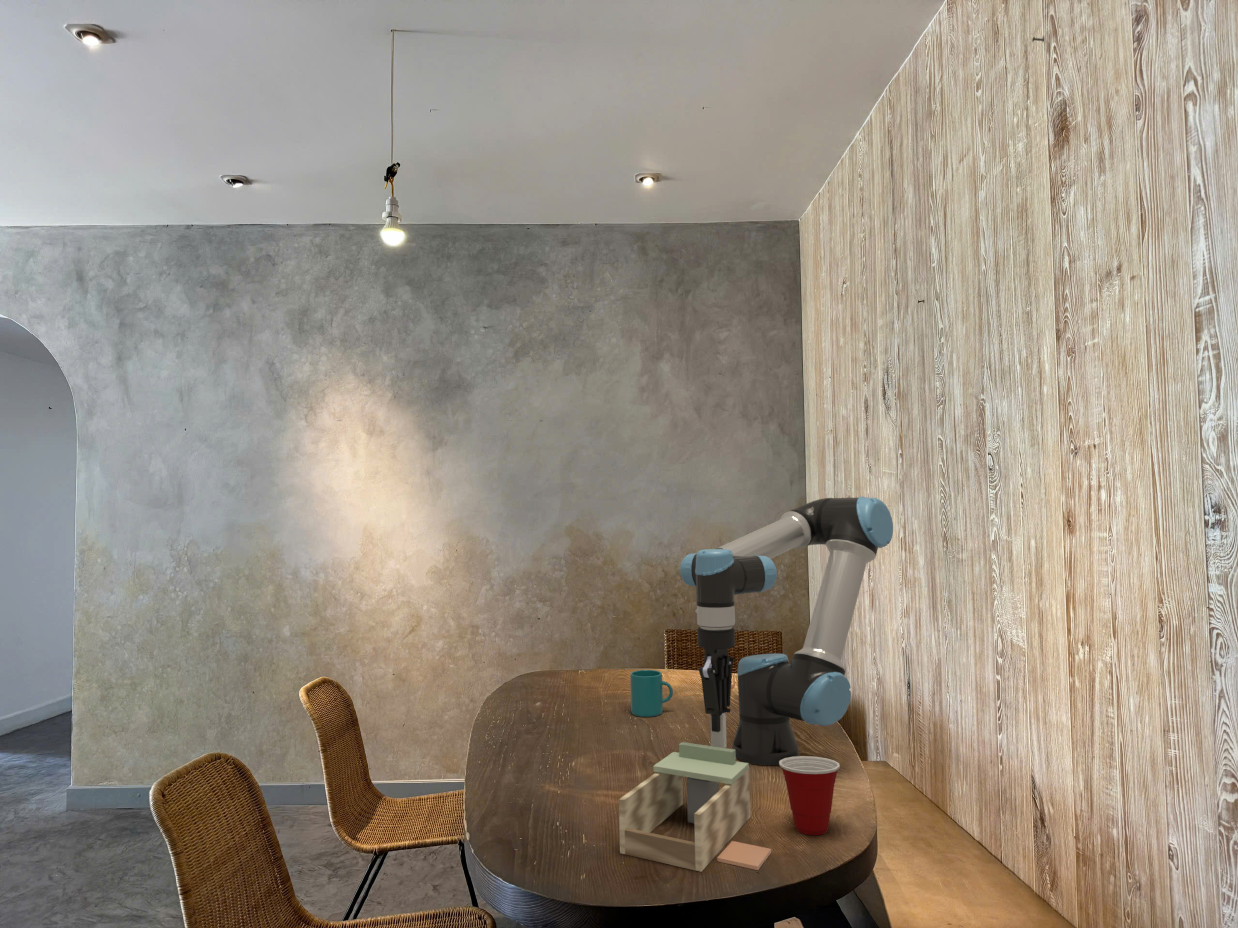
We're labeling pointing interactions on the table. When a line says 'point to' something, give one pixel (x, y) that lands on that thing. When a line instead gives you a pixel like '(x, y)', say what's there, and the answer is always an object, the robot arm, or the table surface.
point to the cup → (647, 693)
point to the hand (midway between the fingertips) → (718, 746)
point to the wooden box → (666, 796)
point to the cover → (703, 763)
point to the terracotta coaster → (744, 855)
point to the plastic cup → (810, 791)
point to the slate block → (699, 794)
